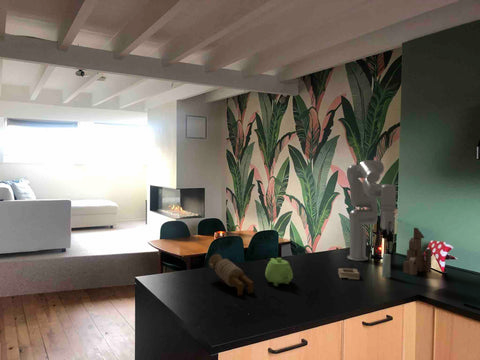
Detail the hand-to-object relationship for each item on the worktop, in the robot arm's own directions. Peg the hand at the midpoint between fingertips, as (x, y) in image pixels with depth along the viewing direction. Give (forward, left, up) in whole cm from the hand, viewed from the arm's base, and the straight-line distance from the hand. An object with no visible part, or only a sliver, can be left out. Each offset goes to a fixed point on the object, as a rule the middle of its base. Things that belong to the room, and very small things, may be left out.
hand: (387, 239), depth 212 cm
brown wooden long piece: (+28, -81, -20) cm, 88 cm away
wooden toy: (-12, +20, -20) cm, 31 cm away
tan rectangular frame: (+2, -20, -20) cm, 28 cm away
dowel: (0, 0, -20) cm, 20 cm away
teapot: (+19, -57, -20) cm, 63 cm away
